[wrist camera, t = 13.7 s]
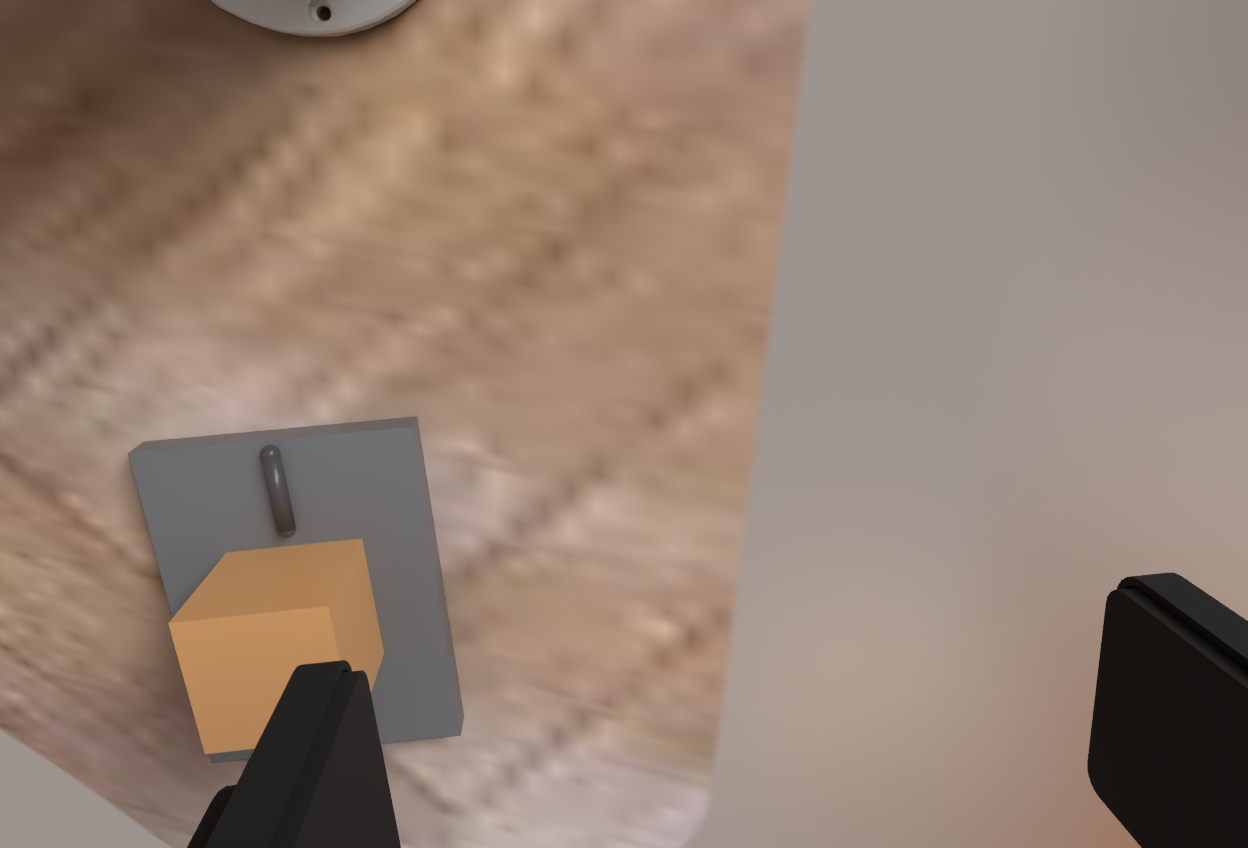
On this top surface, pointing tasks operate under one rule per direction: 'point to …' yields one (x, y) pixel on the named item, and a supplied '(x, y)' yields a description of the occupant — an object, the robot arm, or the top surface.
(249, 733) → the tan wooden cube
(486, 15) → the top surface
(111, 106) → the top surface
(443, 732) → the plate
